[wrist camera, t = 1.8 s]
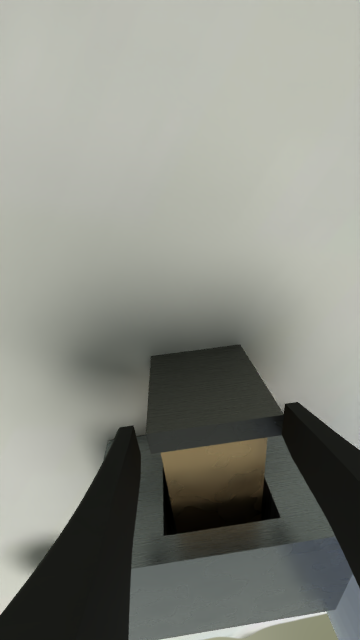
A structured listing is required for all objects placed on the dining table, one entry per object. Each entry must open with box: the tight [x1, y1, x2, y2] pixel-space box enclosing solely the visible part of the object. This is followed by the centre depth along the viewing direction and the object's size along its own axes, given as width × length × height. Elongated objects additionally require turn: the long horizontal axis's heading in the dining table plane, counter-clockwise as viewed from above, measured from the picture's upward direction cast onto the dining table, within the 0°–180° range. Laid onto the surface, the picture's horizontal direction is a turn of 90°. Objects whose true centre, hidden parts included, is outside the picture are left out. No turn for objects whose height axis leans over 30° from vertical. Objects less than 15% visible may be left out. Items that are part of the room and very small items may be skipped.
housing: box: [104, 435, 353, 640], centre depth 16 cm, size 14×10×7 cm
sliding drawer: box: [146, 345, 284, 534], centre depth 14 cm, size 6×10×6 cm, turn 5°
